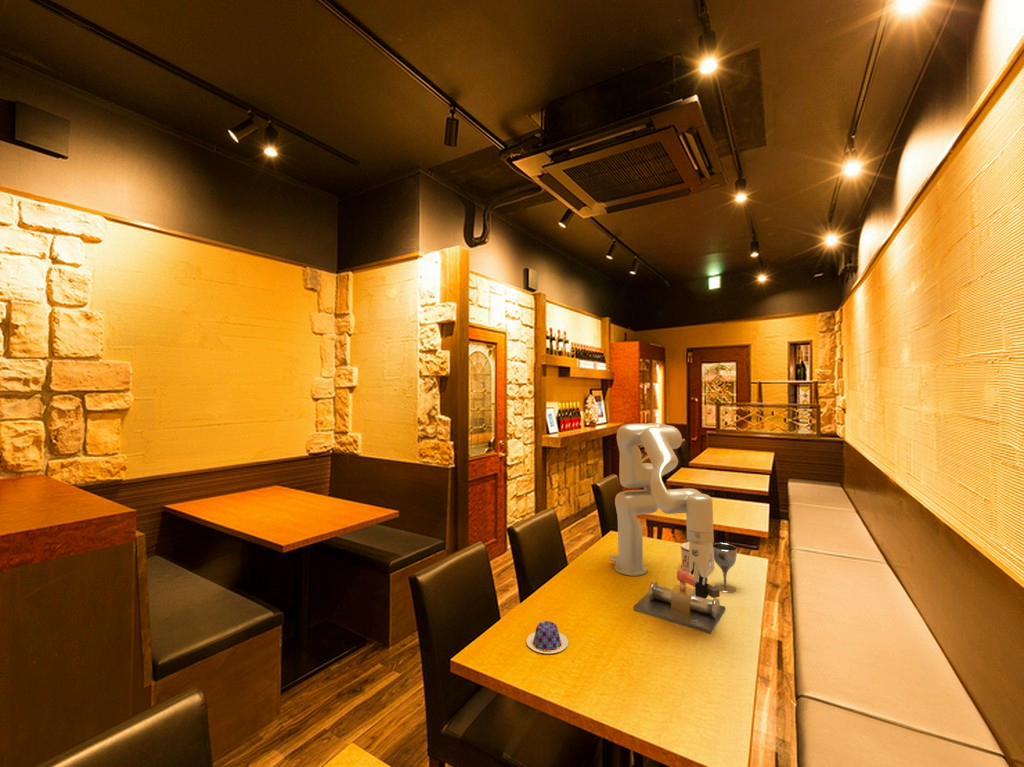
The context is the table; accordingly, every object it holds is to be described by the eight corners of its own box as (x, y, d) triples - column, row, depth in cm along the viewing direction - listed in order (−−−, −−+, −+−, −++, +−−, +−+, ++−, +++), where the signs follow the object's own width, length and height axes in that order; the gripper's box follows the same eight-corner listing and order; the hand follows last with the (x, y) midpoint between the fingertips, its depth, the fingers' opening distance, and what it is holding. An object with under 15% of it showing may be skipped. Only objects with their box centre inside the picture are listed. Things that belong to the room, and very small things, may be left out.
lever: (674, 578, 149) (674, 571, 149) (683, 576, 150) (683, 569, 150) (712, 599, 134) (712, 590, 134) (721, 596, 136) (721, 588, 136)
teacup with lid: (679, 571, 179) (678, 541, 179) (682, 563, 187) (682, 534, 187) (712, 576, 173) (711, 546, 173) (714, 568, 181) (713, 539, 181)
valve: (633, 609, 148) (632, 580, 148) (653, 590, 162) (653, 563, 162) (710, 633, 133) (709, 600, 133) (725, 609, 147) (724, 580, 147)
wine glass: (734, 595, 157) (734, 552, 158) (710, 589, 162) (710, 547, 162) (739, 587, 164) (738, 545, 164) (716, 581, 169) (715, 541, 169)
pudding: (518, 642, 131) (517, 623, 131) (548, 628, 138) (548, 611, 138) (545, 661, 121) (545, 642, 121) (577, 645, 128) (576, 627, 129)
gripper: (705, 544, 128) (707, 609, 128) (719, 531, 140) (721, 591, 140) (679, 539, 133) (680, 602, 133) (695, 527, 145) (696, 585, 144)
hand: (701, 596), depth 136 cm, fingers closed
